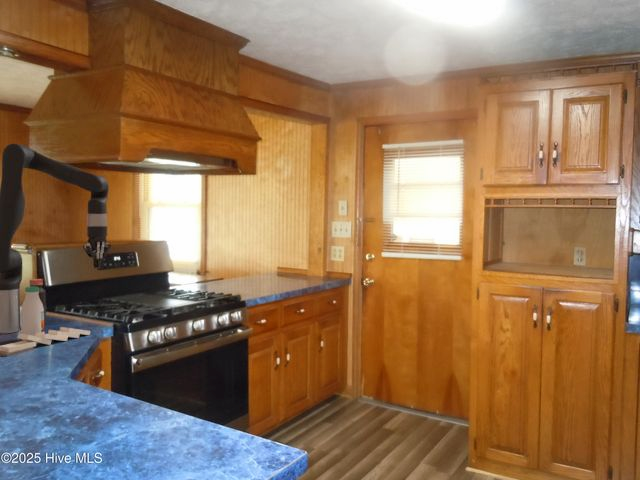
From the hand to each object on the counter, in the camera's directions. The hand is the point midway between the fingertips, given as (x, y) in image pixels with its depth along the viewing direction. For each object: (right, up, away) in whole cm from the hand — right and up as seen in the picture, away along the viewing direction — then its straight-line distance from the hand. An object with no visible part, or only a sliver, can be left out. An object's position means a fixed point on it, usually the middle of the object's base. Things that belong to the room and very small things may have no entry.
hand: (97, 267), depth 215 cm
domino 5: (-5, -26, -9) cm, 28 cm away
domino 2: (-13, -27, -27) cm, 41 cm away
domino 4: (-7, -26, -14) cm, 30 cm away
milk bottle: (-19, -27, -14) cm, 35 cm away
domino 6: (-3, -25, -5) cm, 26 cm away
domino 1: (-13, -25, -26) cm, 38 cm away
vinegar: (-29, -25, +8) cm, 39 cm away
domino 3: (-10, -26, -20) cm, 35 cm away
